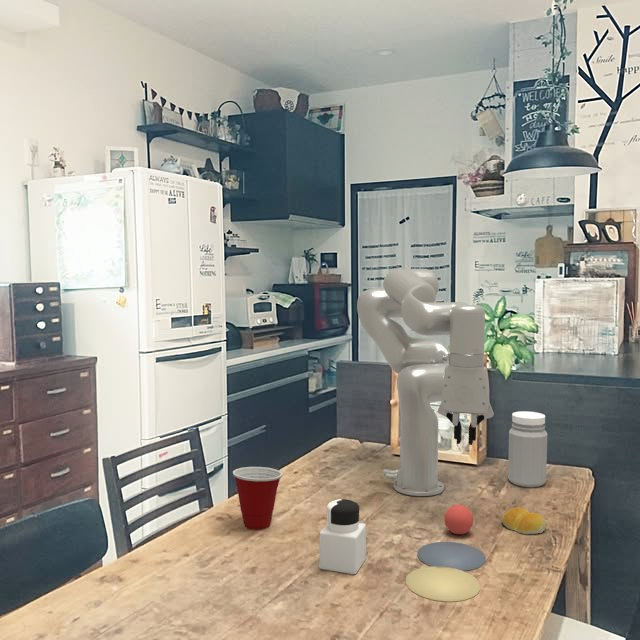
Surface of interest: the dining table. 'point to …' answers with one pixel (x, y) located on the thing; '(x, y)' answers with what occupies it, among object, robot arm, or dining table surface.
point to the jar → (527, 449)
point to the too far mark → (443, 584)
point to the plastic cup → (257, 495)
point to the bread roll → (523, 521)
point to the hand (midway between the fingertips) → (464, 442)
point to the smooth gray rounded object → (451, 556)
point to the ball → (458, 519)
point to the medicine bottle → (342, 538)
